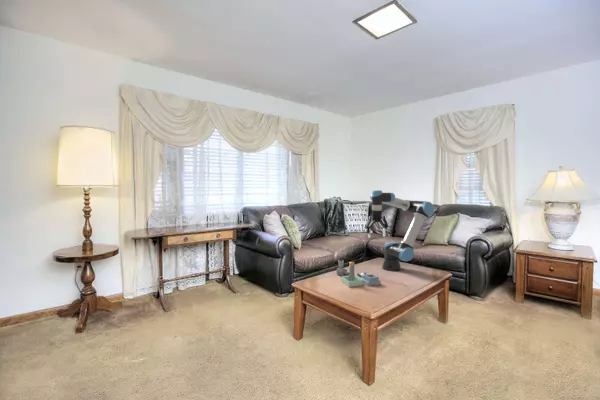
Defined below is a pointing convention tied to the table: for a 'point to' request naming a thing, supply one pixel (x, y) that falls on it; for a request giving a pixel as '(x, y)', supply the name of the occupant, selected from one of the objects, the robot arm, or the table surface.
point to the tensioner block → (369, 279)
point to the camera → (342, 271)
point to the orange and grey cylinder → (351, 271)
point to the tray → (349, 283)
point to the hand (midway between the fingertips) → (376, 237)
